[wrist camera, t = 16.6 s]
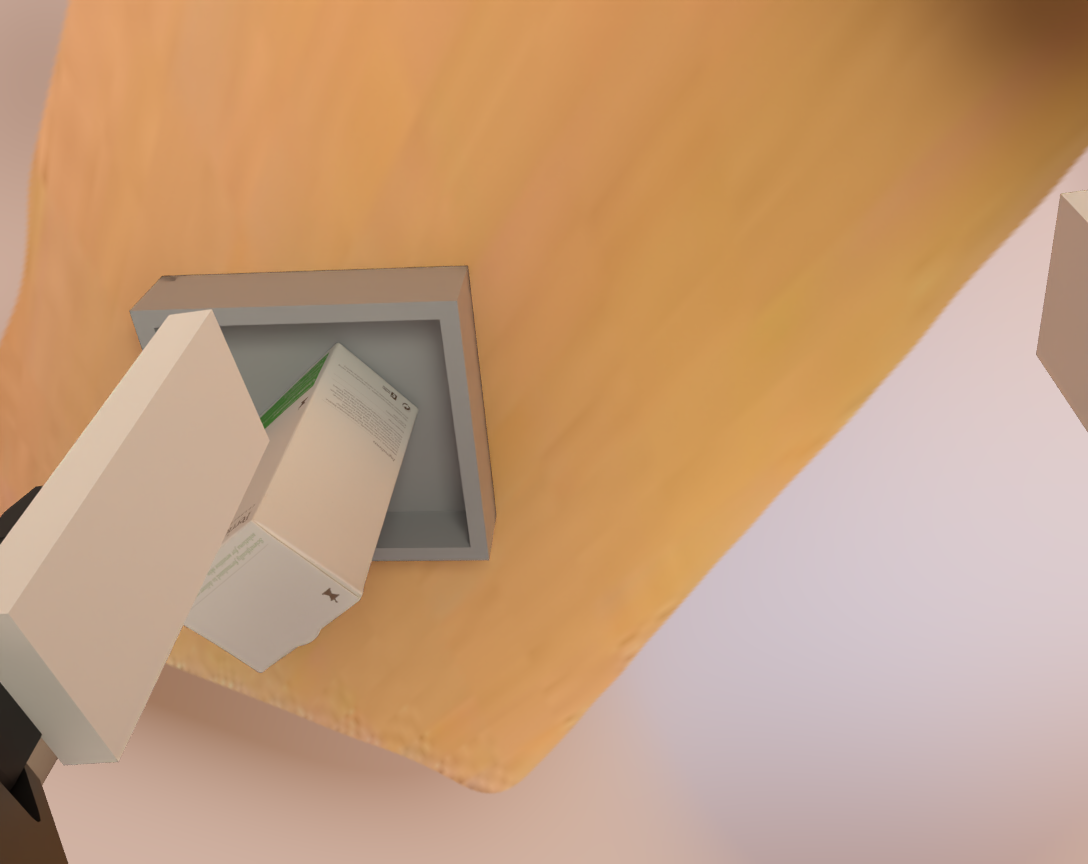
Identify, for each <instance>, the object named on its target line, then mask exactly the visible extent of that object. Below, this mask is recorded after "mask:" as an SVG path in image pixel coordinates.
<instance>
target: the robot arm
mask: <svg viewBox="0 0 1088 864" xmlns="http://www.w3.org/2000/svg"><path fill="white" fill-rule="evenodd" d="M1036 355H1037V356H1038V358H1039V360H1040V361H1041V362H1042V364H1043V365H1044V367H1045V368H1046V370H1047V372H1048V373H1049V375H1050V376H1051V378H1052V379H1053V381H1054V382H1055V383H1056V385H1057V387H1058V388H1059V389H1060V391H1061V393H1062V394H1063V395H1064V397H1065V399H1066V400H1067V402H1068V403H1069V405H1070V406H1071V408H1072V409H1073V411H1074V412H1075V414H1076V415H1077V417H1078V418H1079V420H1080V421H1081V423H1082V424H1083V426H1084V427H1085V429H1086V430H1087V432H1088V190H1084V191H1076V192H1069V193H1062V194H1061V195H1060V201H1059V208H1058V215H1057V221H1056V227H1055V234H1054V240H1053V247H1052V253H1051V260H1050V267H1049V273H1048V280H1047V286H1046V293H1045V299H1044V306H1043V313H1042V319H1041V326H1040V332H1039V339H1038V346H1037V352H1036ZM269 441H270V440H269V438H268V436H267V434H266V431H265V429H264V427H263V424H262V422H261V420H260V418H259V415H258V413H257V411H256V409H255V406H254V404H253V402H252V399H251V397H250V395H249V393H248V390H247V388H246V386H245V383H244V381H243V379H242V377H241V374H240V372H239V370H238V368H237V365H236V363H235V361H234V358H233V356H232V354H231V352H230V349H229V347H228V345H227V343H226V340H225V338H224V336H223V333H222V331H221V329H220V327H219V324H218V322H217V320H216V317H215V315H214V313H213V311H212V309H209V310H202V311H195V312H187V313H180V314H173V315H169V316H168V317H167V318H166V320H165V321H164V322H163V324H162V325H161V326H160V328H159V329H158V330H157V332H156V333H155V335H154V336H153V337H152V339H151V340H150V341H149V343H148V344H147V345H146V347H145V348H144V350H143V351H142V352H141V354H140V355H139V356H138V358H137V359H136V360H135V362H134V363H133V365H132V366H131V367H130V369H129V370H128V371H127V373H126V374H125V375H124V377H123V378H122V379H121V381H120V382H119V384H118V385H117V386H116V388H115V389H114V390H113V392H112V393H111V394H110V396H109V397H108V399H107V400H106V401H105V403H104V404H103V405H102V407H101V408H100V409H99V411H98V412H97V414H96V415H95V416H94V418H93V419H92V420H91V422H90V423H89V424H88V426H87V427H86V428H85V430H84V431H83V433H82V434H81V435H80V437H79V438H78V439H77V441H76V442H75V443H74V445H73V446H72V448H71V449H70V450H69V452H68V453H67V454H66V456H65V457H64V458H63V460H62V461H61V463H60V464H59V465H58V467H57V468H56V469H55V471H54V472H53V473H52V475H51V476H50V477H49V479H48V480H47V482H46V483H45V484H44V486H38V487H35V488H34V489H32V490H31V491H30V492H29V493H27V494H26V495H25V496H24V497H23V498H21V499H20V500H19V501H18V502H16V503H15V504H14V505H13V506H12V507H10V508H9V509H8V510H7V511H5V512H4V514H3V515H2V516H1V518H0V864H68V861H67V858H66V856H65V853H64V850H63V847H62V844H61V841H60V838H59V835H58V832H57V829H56V826H55V823H54V820H53V817H52V814H51V811H50V808H49V805H48V802H47V800H46V796H45V793H44V790H43V787H42V784H41V781H40V779H39V778H38V777H37V775H36V774H35V773H34V771H33V770H32V769H31V768H30V767H29V765H28V764H27V761H28V759H29V758H30V756H31V754H32V752H33V751H34V749H35V747H36V745H37V743H38V742H39V740H40V738H42V739H43V740H44V741H45V743H46V744H47V745H48V746H49V748H50V749H51V750H52V751H53V753H54V754H55V755H56V756H57V758H58V759H59V760H60V761H61V762H62V764H63V765H78V764H95V763H111V762H119V761H120V759H121V756H122V754H123V752H124V750H125V748H126V746H127V744H128V741H129V739H130V737H131V735H132V733H133V731H134V729H135V726H136V725H137V722H138V720H139V718H140V716H141V714H142V712H143V710H144V708H145V705H146V703H147V701H148V699H149V697H150V695H151V693H152V691H153V688H154V686H155V683H156V681H157V680H158V678H159V675H160V673H161V671H162V669H163V667H164V665H165V663H166V661H167V659H168V656H169V654H170V652H171V650H172V648H173V646H174V644H175V641H176V639H177V637H178V635H179V633H180V631H181V629H182V627H183V624H184V622H185V620H186V618H187V616H188V614H189V612H190V609H191V607H192V605H193V603H194V601H195V599H196V597H197V595H198V592H199V590H200V588H201V586H202V584H203V582H204V580H205V578H206V575H207V573H208V571H209V569H210V567H211V565H212V563H213V560H214V558H215V556H216V554H217V552H218V550H219V548H220V546H221V543H222V541H223V539H224V537H225V535H226V533H227V531H228V528H229V526H230V524H231V522H232V520H233V518H234V516H235V514H236V511H237V509H238V507H239V505H240V503H241V501H242V499H243V497H244V494H245V492H246V490H247V488H248V486H249V484H250V482H251V479H252V477H253V475H254V473H255V471H256V469H257V467H258V465H259V462H260V460H261V458H262V456H263V454H264V452H265V450H266V447H267V445H268V443H269Z"/></svg>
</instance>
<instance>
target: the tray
mask: <svg viewBox="0 0 1088 864" xmlns="http://www.w3.org/2000/svg"><path fill="white" fill-rule="evenodd" d="M209 309H212V311H213V313H214V315H215V317H216V320H217V322H218V324H219V327H220V329H221V331H222V333H223V336H224V338H225V340H226V343H227V345H228V347H229V349H230V352H231V354H232V356H233V358H234V361H235V363H236V365H237V368H238V370H239V372H240V374H241V377H242V379H243V381H244V383H245V386H246V388H247V390H248V393H249V395H250V397H251V399H252V402H253V404H254V406H255V409H256V411H257V413H258V415H259V416H260V415H261V414H262V413H263V412H264V411H266V410H267V409H268V408H269V407H270V406H271V405H272V404H273V403H274V402H275V401H276V400H277V399H279V398H280V397H281V396H282V395H283V394H284V393H285V392H286V391H287V390H288V389H289V388H290V387H291V386H292V385H293V384H294V383H295V382H296V381H297V380H298V379H299V378H300V377H301V376H302V375H303V374H304V373H305V372H306V371H307V370H308V369H309V368H310V367H311V366H312V365H314V364H315V363H316V362H317V361H318V360H319V359H320V358H322V357H323V355H324V354H325V353H326V352H327V351H328V350H329V349H331V348H332V347H333V346H334V345H335V344H336V343H340V344H341V345H343V346H344V347H345V348H346V349H347V350H349V351H350V352H351V353H352V354H354V355H355V356H356V357H357V358H358V359H359V360H361V361H362V362H363V363H364V364H365V365H367V366H368V367H369V368H370V369H372V370H373V371H374V372H375V373H376V374H378V375H379V376H380V377H381V378H382V379H384V380H385V381H386V382H387V383H388V384H389V385H391V386H392V387H393V388H394V389H395V390H397V391H398V392H399V393H400V394H401V395H403V396H404V397H405V398H406V399H407V400H408V401H410V402H411V403H412V404H413V405H415V406H416V407H417V408H418V414H417V416H416V419H415V422H414V425H413V429H412V432H411V435H410V438H409V441H408V445H407V448H406V451H405V454H404V457H403V461H402V464H401V467H400V470H399V474H398V477H397V480H396V483H395V486H394V490H393V493H392V496H391V499H390V502H389V506H388V509H387V512H386V516H385V519H384V522H383V526H382V529H381V532H380V535H379V538H378V542H377V545H376V548H375V551H374V555H373V558H372V561H443V560H489V558H490V552H491V545H492V539H493V533H494V527H495V521H496V507H495V498H494V490H493V481H492V472H491V463H490V454H489V446H488V437H487V428H486V419H485V411H484V402H483V393H482V384H481V376H480V367H479V358H478V349H477V340H476V332H475V323H474V314H473V305H472V297H471V288H470V279H469V270H468V266H443V267H414V268H384V269H355V270H326V271H296V272H267V273H238V274H208V275H179V276H162V277H161V278H160V279H159V280H158V281H157V282H156V283H155V284H154V285H153V286H152V288H151V289H150V290H149V291H148V292H147V293H146V294H145V295H144V296H143V297H142V298H141V299H140V300H139V301H138V302H137V303H136V304H135V305H134V306H133V308H132V309H131V310H130V314H131V317H132V320H133V323H134V326H135V329H136V332H137V335H138V338H139V341H140V344H141V347H142V350H144V348H145V347H146V345H147V344H148V343H149V341H150V340H151V339H152V337H153V336H154V335H155V333H156V332H157V330H158V329H159V328H160V326H161V325H162V324H163V322H164V321H165V320H166V318H167V317H168V316H169V315H173V314H180V313H187V312H195V311H202V310H209Z"/></svg>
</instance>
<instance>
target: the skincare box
mask: <svg viewBox="0 0 1088 864" xmlns="http://www.w3.org/2000/svg"><path fill="white" fill-rule="evenodd" d="M417 414H418V408H417V407H416V406H415V405H413V404H412V403H411V402H410V401H408V400H407V399H406V398H405V397H404V396H403V395H401V394H400V393H399V392H398V391H397V390H395V389H394V388H393V387H392V386H391V385H389V384H388V383H387V382H386V381H385V380H384V379H382V378H381V377H380V376H379V375H378V374H376V373H375V372H374V371H373V370H372V369H370V368H369V367H368V366H367V365H365V364H364V363H363V362H362V361H361V360H359V359H358V358H357V357H356V356H355V355H354V354H352V353H351V352H350V351H349V350H347V349H346V348H345V347H344V346H343V345H341V344H340V343H336V344H335V345H334V346H333V347H332V348H331V349H329V350H328V351H327V352H326V353H325V354H324V355H323V357H322V358H320V359H319V360H318V361H317V362H316V363H315V364H314V365H312V366H311V367H310V368H309V369H308V370H307V371H306V372H305V373H304V374H303V375H302V376H301V377H300V378H299V379H298V380H297V381H296V382H295V383H294V384H293V385H292V386H291V387H290V388H289V389H288V390H287V391H286V392H285V393H284V394H283V395H282V396H281V397H280V398H279V399H277V400H276V401H275V402H274V403H273V404H272V405H271V406H270V407H269V408H268V409H267V410H266V411H264V412H263V413H262V414H261V415H260V416H259V418H260V420H261V422H262V424H263V427H264V429H265V431H266V434H267V436H268V438H269V440H270V441H269V443H268V445H267V447H266V450H265V452H264V454H263V456H262V458H261V460H260V462H259V465H258V467H257V469H256V471H255V473H254V475H253V477H252V479H251V482H250V484H249V486H248V488H247V490H246V492H245V494H244V497H243V499H242V501H241V503H240V505H239V507H238V509H237V511H236V514H235V516H234V518H233V520H232V522H231V524H230V526H229V528H228V531H227V533H226V535H225V537H224V539H223V541H222V543H221V546H220V548H219V550H218V552H217V554H216V556H215V558H214V560H213V563H212V565H211V567H210V569H209V571H208V573H207V575H206V578H205V580H204V582H203V584H202V586H201V588H200V590H199V592H198V595H197V597H196V599H195V601H194V603H193V605H192V607H191V609H190V612H189V614H188V616H187V618H186V620H185V622H184V624H183V625H184V626H186V627H188V628H189V629H191V630H193V631H194V632H196V633H198V634H199V635H201V636H203V637H204V638H206V639H208V640H209V641H211V642H212V643H214V644H216V645H217V646H219V647H220V648H222V649H224V650H225V651H227V652H228V653H230V654H231V655H233V656H234V657H236V658H237V659H239V660H240V661H242V662H243V663H245V664H247V665H248V666H250V667H251V668H253V669H254V670H256V671H257V672H259V673H262V672H264V671H265V670H266V669H267V668H268V667H270V666H271V665H273V664H274V663H276V662H277V661H278V660H280V659H281V658H283V657H284V656H286V655H287V654H288V653H290V652H291V651H293V650H294V649H295V648H297V647H298V646H302V645H305V644H308V643H310V642H312V641H313V640H314V639H316V637H317V636H318V635H319V632H320V630H321V629H322V628H323V627H325V626H326V625H327V624H329V623H330V622H332V621H333V620H334V619H336V618H337V617H338V616H340V615H341V614H342V613H343V612H345V611H346V610H348V609H349V608H350V607H351V606H353V605H354V604H355V603H357V602H358V601H359V600H360V599H361V597H362V594H363V590H364V585H365V581H366V578H367V575H368V571H369V568H370V565H371V561H372V558H373V555H374V551H375V548H376V545H377V542H378V538H379V535H380V532H381V529H382V526H383V522H384V519H385V516H386V512H387V509H388V506H389V502H390V499H391V496H392V493H393V490H394V486H395V483H396V480H397V477H398V474H399V470H400V467H401V464H402V461H403V457H404V454H405V451H406V448H407V445H408V441H409V438H410V435H411V432H412V429H413V425H414V422H415V419H416V416H417Z"/></svg>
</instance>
